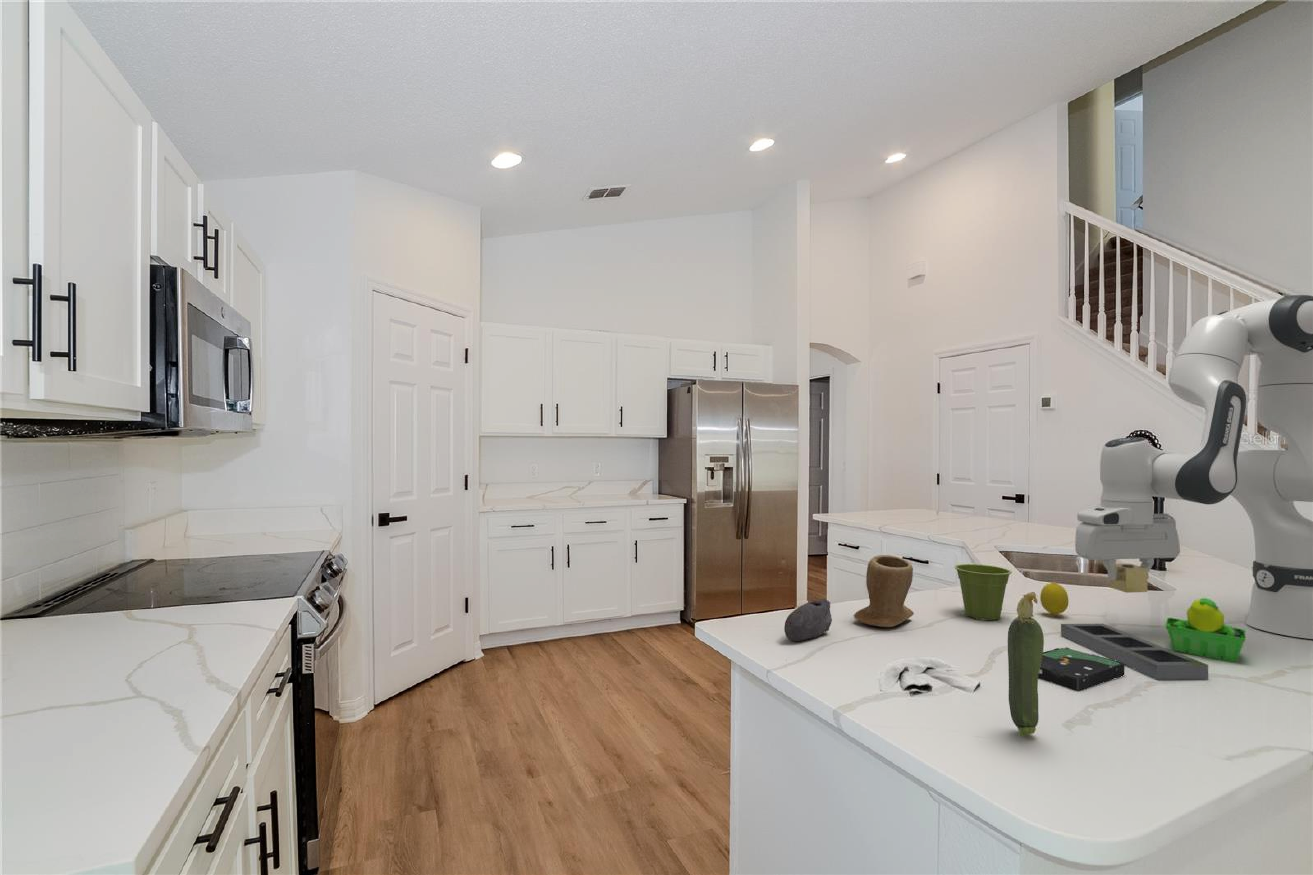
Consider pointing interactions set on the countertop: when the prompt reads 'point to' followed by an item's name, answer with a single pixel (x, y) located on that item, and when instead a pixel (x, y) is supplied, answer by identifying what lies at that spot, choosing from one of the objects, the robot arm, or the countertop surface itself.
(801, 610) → the perforated stone tool
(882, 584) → the stone cup
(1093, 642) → the rail
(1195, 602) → the fruit basket
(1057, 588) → the lemon
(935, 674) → the cloth
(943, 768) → the countertop surface
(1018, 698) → the vegetable
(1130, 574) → the nut
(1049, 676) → the disk drive
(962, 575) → the plant pot
